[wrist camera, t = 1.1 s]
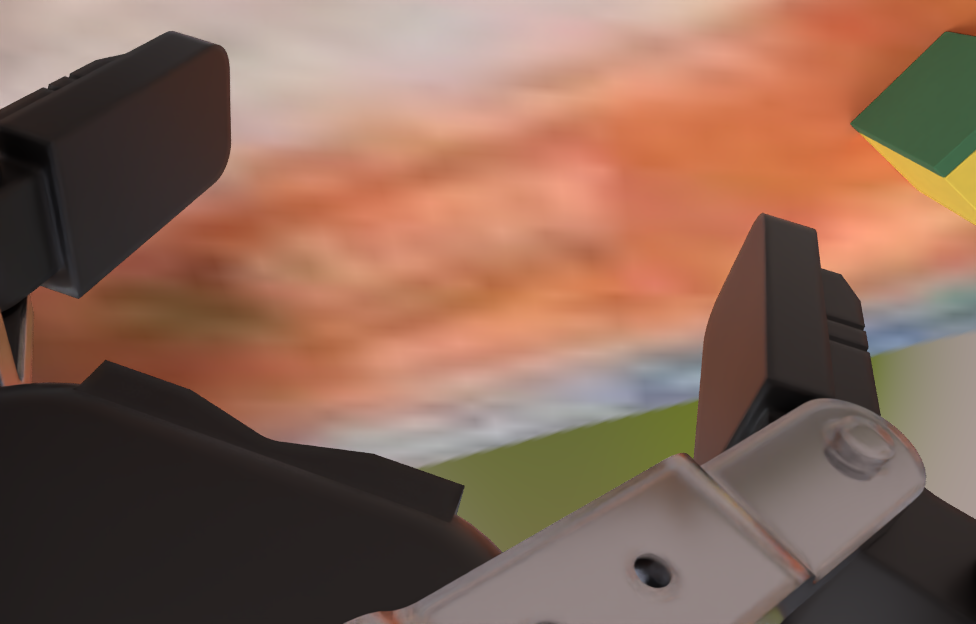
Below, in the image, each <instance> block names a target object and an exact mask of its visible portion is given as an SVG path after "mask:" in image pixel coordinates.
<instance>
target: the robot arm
mask: <svg viewBox="0 0 976 624" xmlns="http://www.w3.org/2000/svg"><path fill="white" fill-rule="evenodd" d="M230 148H231V117H230V67H229V59H228V55H227V53H226V51H225V49H224V48H223V47H222V46H220V45H217V44H214V43H211V42H208V41H204V40H201V39H198V38H194V37H191V36H188V35H185V34H181V33H178V32H175V31H169V32H166V33H164V34H162V35H160V36H158V37H156V38H154V39H153V40H151V41H149V42H147V43H145V44H143V45H141V46H139V47H137V48H136V49H134V50H132V51H130V52H128V53H126V54H122V55H118V56H113V57H108V58H104V59H99V60H95V61H93V62H91V63H90V64H88V65H86V66H84V67H82V68H80V69H78V70H76V71H74V72H72V73H70V76H69V77H65V76H64V77H62V78H60V79H58V80H57V81H55V82H53V83H51V84H49V86H48V89H46V88H41V89H39V90H37V91H35V92H33V93H31V94H29V95H27V96H25V97H23V98H22V99H20V100H18V101H16V102H14V103H12V104H10V105H8V106H6V107H4V108H2V109H0V624H976V519H974V518H972V517H971V516H969V515H967V514H965V513H964V512H962V511H960V510H959V509H957V508H955V507H953V506H952V505H950V504H948V503H946V502H945V501H943V500H942V499H940V498H939V497H937V496H935V495H934V494H933V493H931V492H930V491H929V490H927V489H926V488H925V484H926V472H925V467H924V464H923V462H922V459H921V457H920V455H919V454H918V452H917V450H916V449H915V447H914V446H913V445H912V444H911V442H910V441H909V440H908V439H907V438H906V437H905V436H904V435H903V434H902V432H900V431H899V430H898V429H897V428H896V427H895V426H893V425H892V424H891V423H889V422H888V421H887V420H885V419H884V418H882V417H881V414H880V409H879V403H878V398H877V392H876V387H875V381H874V375H873V369H872V364H871V358H870V353H869V352H867V349H868V341H867V336H866V331H863V330H864V327H865V324H864V319H863V313H862V307H861V302H860V300H859V299H858V297H857V296H856V294H855V293H854V292H853V290H852V289H851V287H850V286H849V285H848V283H847V282H846V280H845V279H844V278H843V276H842V275H841V274H838V273H835V272H831V271H828V270H825V269H822V268H821V265H820V257H819V248H818V239H817V232H816V230H815V229H813V228H810V227H807V226H803V225H800V224H797V223H794V222H790V221H787V220H784V219H781V218H777V217H774V216H771V215H768V214H764V213H762V214H760V215H759V216H758V218H757V219H756V220H755V222H754V224H753V225H752V227H751V229H750V231H749V233H748V236H747V238H746V240H745V242H744V244H743V246H742V248H741V250H740V252H739V254H738V256H737V258H736V260H735V262H734V264H733V266H732V268H731V271H730V273H729V275H728V277H727V279H726V281H725V283H724V285H723V287H722V289H721V291H720V293H719V295H718V297H717V300H716V302H715V304H714V307H713V309H712V312H711V315H710V318H709V321H708V324H707V328H706V332H705V337H704V344H703V356H702V368H701V379H700V391H699V404H698V414H697V426H696V439H695V449H694V459H692V458H691V457H690V456H689V455H688V454H686V453H680V454H676V455H673V456H671V457H669V458H667V459H665V460H663V461H661V462H660V463H658V464H656V465H655V466H653V467H651V468H649V469H648V470H646V471H644V472H642V473H641V474H639V475H637V476H635V477H634V478H632V479H631V480H628V481H627V482H625V483H623V484H621V485H620V486H618V487H616V488H615V489H613V490H611V491H610V492H608V493H606V494H604V495H603V496H601V497H599V498H597V499H595V500H594V501H592V502H590V503H589V504H587V505H585V506H583V507H582V508H580V509H578V510H577V511H575V512H573V513H571V514H569V515H568V516H566V517H564V518H562V519H561V520H559V521H557V522H555V523H554V524H552V525H550V526H548V527H547V528H545V529H544V530H542V531H540V532H538V533H536V534H535V535H533V536H531V537H529V538H528V539H526V540H524V541H522V542H521V543H519V544H517V545H515V546H514V547H512V548H510V549H508V550H507V551H505V552H501V550H500V549H499V548H498V547H497V546H496V545H495V544H494V543H493V542H492V541H491V540H490V539H489V538H488V537H486V536H485V535H484V534H483V533H481V532H480V531H479V530H478V529H477V528H475V527H474V526H473V525H472V524H470V523H468V522H467V521H466V520H464V519H462V518H461V517H459V516H458V515H457V512H458V508H459V504H460V501H461V497H462V494H463V489H464V485H461V484H458V483H455V482H453V481H450V480H446V479H444V478H441V477H438V476H435V475H433V474H430V473H427V472H424V471H421V470H418V469H415V468H413V467H410V466H407V465H404V464H401V463H398V462H395V461H393V460H390V459H387V458H384V457H381V456H378V455H375V454H371V453H363V452H356V451H348V450H340V449H333V448H325V447H317V446H310V445H302V444H294V443H287V442H279V441H274V440H271V439H268V438H265V437H263V436H262V435H260V434H258V433H257V432H255V431H254V430H252V429H251V428H249V427H247V426H246V425H244V424H243V423H241V422H240V421H238V420H237V419H235V418H234V417H232V416H230V415H229V414H227V413H226V412H224V411H223V410H221V409H220V408H218V407H217V406H215V405H213V404H212V403H210V402H209V401H207V400H206V399H204V398H203V397H201V396H200V395H198V394H197V393H195V392H193V391H192V390H190V389H187V388H184V387H181V386H178V385H176V384H173V383H170V382H167V381H164V380H161V379H159V378H156V377H153V376H150V375H147V374H144V373H141V372H139V371H136V370H133V369H130V368H127V367H124V366H121V365H119V364H116V363H113V362H110V361H107V360H105V361H104V362H103V363H102V364H101V365H100V366H99V367H98V368H97V369H96V370H95V371H94V372H93V373H92V374H91V375H90V376H89V377H88V378H87V379H86V380H85V381H84V382H83V383H82V384H74V383H49V382H48V383H32V358H33V327H34V310H33V305H32V300H31V296H30V293H31V292H33V291H34V290H35V289H37V288H38V287H39V286H43V287H46V288H49V289H51V290H54V291H57V292H60V293H63V294H66V295H69V296H72V297H75V298H78V299H79V298H81V297H82V296H83V295H84V294H85V293H86V292H88V291H89V290H90V289H91V288H92V287H93V286H95V285H96V284H97V283H98V282H99V281H100V280H102V279H103V278H104V277H105V276H106V275H107V274H109V273H110V272H111V271H112V270H113V269H114V268H116V267H117V266H118V265H119V264H120V263H121V262H123V261H124V260H125V259H126V258H127V257H129V256H130V255H131V254H132V253H133V252H134V251H136V250H137V249H138V248H139V247H140V246H141V245H143V244H144V243H145V242H146V241H147V240H148V239H150V238H151V237H152V236H153V235H154V234H155V233H157V232H158V231H159V230H160V229H161V228H162V227H164V226H165V225H166V224H167V223H168V222H170V221H171V220H172V219H173V218H174V217H175V216H177V215H178V214H179V213H180V212H181V211H182V210H184V209H185V208H186V207H187V206H188V205H189V204H191V203H192V202H193V201H194V200H195V199H196V198H198V197H199V196H200V195H201V194H202V193H203V192H205V191H206V190H207V189H208V188H209V187H210V186H212V185H213V184H214V183H215V182H216V181H217V180H218V179H219V178H220V176H221V175H222V173H223V171H224V169H225V167H226V165H227V162H228V159H229V154H230Z"/></svg>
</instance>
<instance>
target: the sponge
mask: <svg viewBox="0 0 976 624" xmlns="http://www.w3.org/2000/svg"><path fill="white" fill-rule="evenodd" d="M851 125H852V126H853V127H854V128H855V129H856V130H857V131H858V132H859V133H860V134H861V135H862V136H863V137H864V138H865V139H866V140H867V141H868V142H869V143H870V144H871V145H872V146H873V147H874V148H875V149H876V150H877V151H878V152H879V153H880V154H881V155H882V156H883V157H884V158H885V159H886V160H887V161H888V162H889V163H890V164H891V165H892V166H893V167H894V168H895V169H896V170H897V171H899V172H900V173H901V174H902V175H903V176H904V177H905V178H906V179H907V180H908V181H909V182H910V183H911V184H912V185H913V186H914V187H915V188H916V189H917V190H918V191H920V192H921V193H923V194H925V195H926V196H928V197H930V198H931V199H933V200H935V201H936V202H938V203H939V204H941V205H943V206H944V207H946V208H948V209H949V210H951V211H953V212H954V213H956V214H958V215H959V216H961V217H963V218H964V219H966V220H967V221H969V222H971V223H972V224H974V225H976V36H970V35H964V34H959V33H953V32H947V31H946V32H944V33H943V34H942V35H941V36H940V37H939V38H938V39H937V40H936V41H935V42H934V43H933V44H932V45H931V46H930V47H929V48H928V49H927V50H926V51H925V52H924V53H923V54H922V55H921V56H920V57H919V58H918V59H917V60H915V61H914V62H913V63H912V64H911V65H910V66H909V67H908V68H907V69H906V70H905V71H904V72H903V73H902V74H901V75H900V76H899V77H898V78H897V79H896V80H895V81H894V82H893V83H892V84H891V85H890V86H889V87H888V88H886V89H885V90H884V91H883V92H882V93H881V94H880V95H879V96H878V97H877V98H876V99H875V100H874V101H873V102H872V103H871V104H870V105H869V106H868V107H867V108H866V109H865V110H864V111H863V112H862V113H861V114H860V115H859V116H858V117H856V118H855V119H854V120H853V121H852V122H851Z"/></svg>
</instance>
